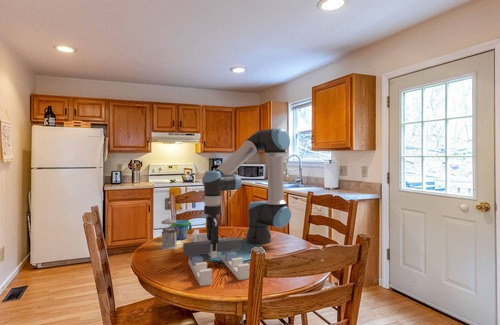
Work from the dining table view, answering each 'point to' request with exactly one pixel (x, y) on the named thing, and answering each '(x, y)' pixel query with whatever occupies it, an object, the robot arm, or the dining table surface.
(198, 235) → the cable organizer
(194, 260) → the white notched holder
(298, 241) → the dining table surface
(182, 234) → the snack cup
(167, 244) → the french press
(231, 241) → the dark gray bar
